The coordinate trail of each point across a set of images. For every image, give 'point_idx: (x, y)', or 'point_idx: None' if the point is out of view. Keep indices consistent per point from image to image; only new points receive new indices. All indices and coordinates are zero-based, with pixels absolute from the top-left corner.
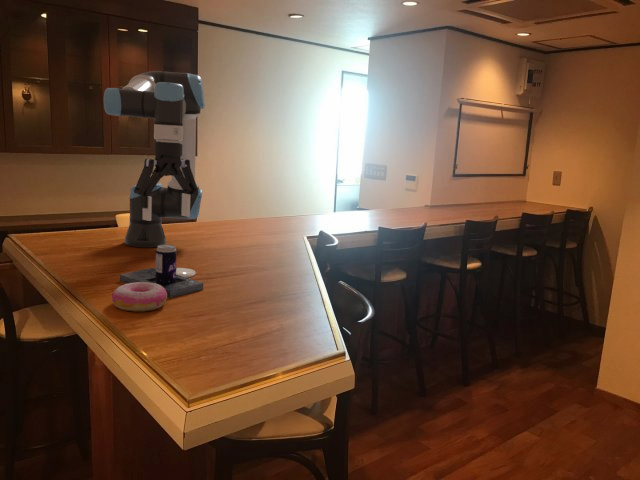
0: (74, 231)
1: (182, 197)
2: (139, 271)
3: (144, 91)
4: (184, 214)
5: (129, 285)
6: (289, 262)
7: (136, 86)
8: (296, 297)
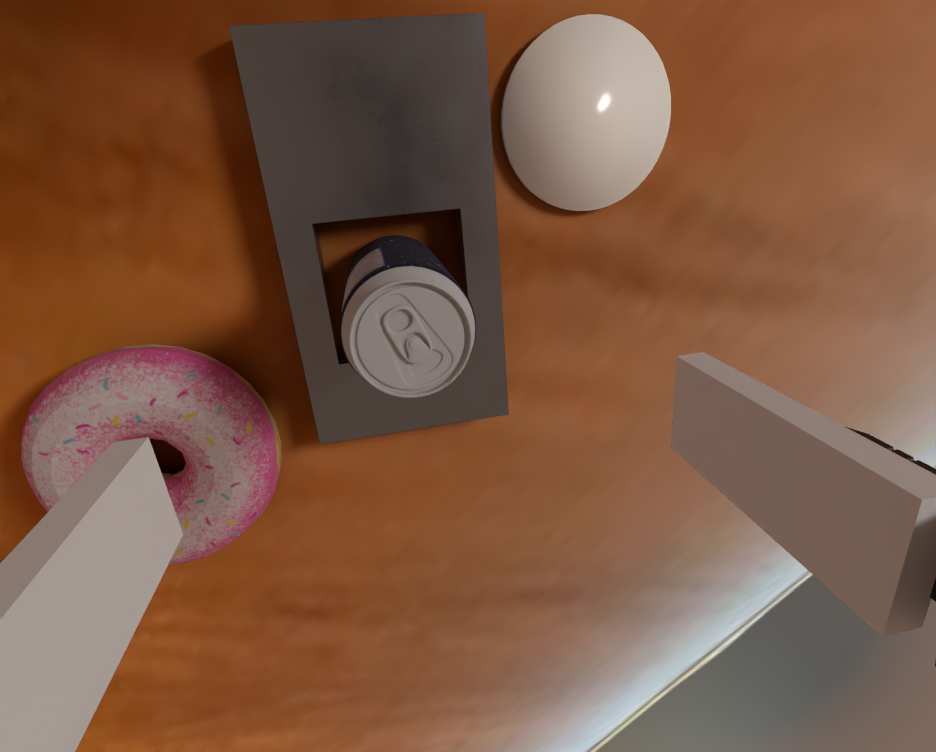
0: None
1: (849, 474)
2: (367, 40)
3: None
4: (683, 408)
5: (109, 426)
6: None
7: None
8: (673, 611)
